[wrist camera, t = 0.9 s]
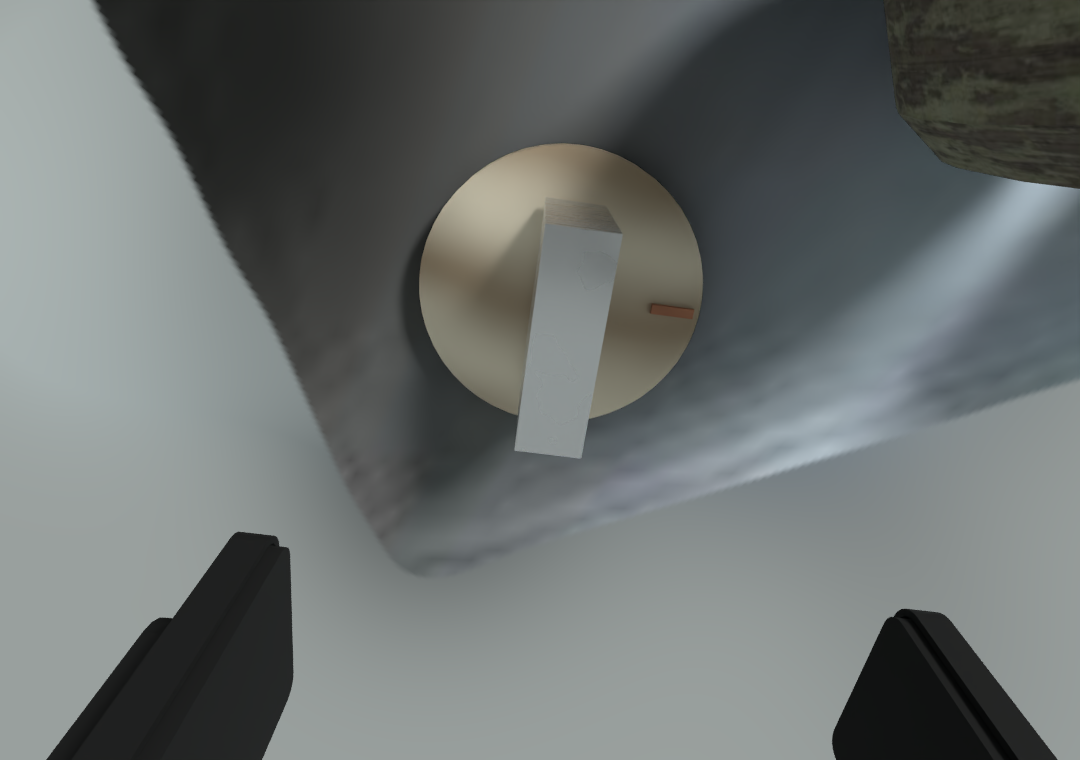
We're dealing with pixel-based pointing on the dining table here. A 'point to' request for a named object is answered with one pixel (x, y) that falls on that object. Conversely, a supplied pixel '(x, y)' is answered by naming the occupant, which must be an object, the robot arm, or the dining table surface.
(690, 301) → the dial base
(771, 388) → the dining table surface
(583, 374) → the dial knob
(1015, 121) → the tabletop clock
